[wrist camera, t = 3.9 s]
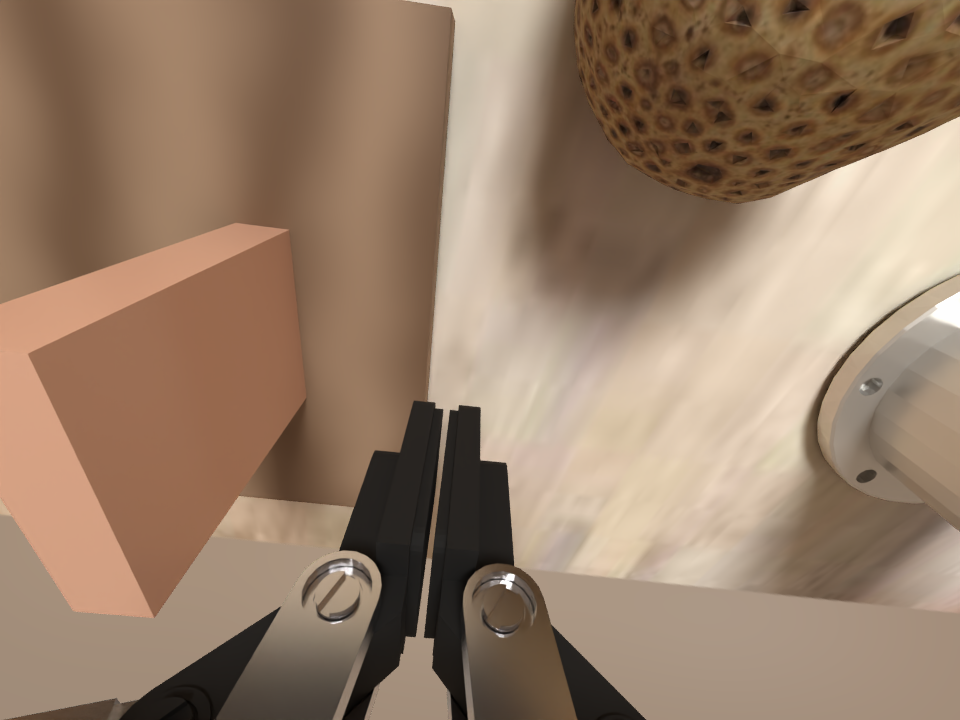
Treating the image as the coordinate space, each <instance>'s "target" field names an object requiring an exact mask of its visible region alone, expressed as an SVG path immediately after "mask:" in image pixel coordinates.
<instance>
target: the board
mask: <svg viewBox="0 0 960 720" xmlns="http://www.w3.org/2000/svg"><path fill="white" fill-rule="evenodd" d="M454 29H455V20H454V16H453V12H452V9H451V8H449V7H442V6H436V5H430V4H423V3H417V2H410V1H404V0H0V304H2V303H5V302H8V301H11V300H14V299H17V298H20V297H23V296H25V295H28V294H31V293H34V292H37V291H40V290H43V289H46V288H49V287H51V286H54V285H57V284H60V283H63V282H66V281H69V280H72V279H75V278H77V277H80V276H83V275H86V274H89V273H92V272H95V271H98V270H101V269H103V268H106V267H109V266H112V265H115V264H118V263H121V262H124V261H127V260H129V259H132V258H135V257H138V256H141V255H144V254H147V253H150V252H153V251H156V250H158V249H161V248H164V247H167V246H170V245H173V244H176V243H179V242H182V241H184V240H187V239H190V238H193V237H196V236H199V235H202V234H205V233H208V232H210V231H213V230H216V229H219V228H222V227H225V226H228V225H231V224H234V223H241V224H248V225H256V226H264V227H272V228H280V229H287V230H289V233H290V243H291V253H292V262H293V272H294V282H295V291H296V301H297V311H298V320H299V330H300V340H301V349H302V359H303V369H304V378H305V388H306V399H305V400H304V402H303V403H302V405H301V406H300V408H299V409H298V411H297V412H296V414H295V415H294V416H293V418H292V419H291V421H290V422H289V424H288V425H287V427H286V428H285V429H284V431H283V432H282V434H281V435H280V437H279V438H278V440H277V441H276V443H275V444H274V445H273V447H272V448H271V450H270V451H269V453H268V454H267V456H266V457H265V458H264V460H263V461H262V463H261V464H260V466H259V467H258V469H257V470H256V471H255V473H254V474H253V476H252V477H251V479H250V480H249V482H248V483H247V485H246V486H245V487H244V489H243V490H242V492H241V493H240V495H239V496H246V497H256V498H267V499H277V500H287V501H298V502H308V503H318V504H329V505H339V506H349V507H355V504H356V501H357V498H358V495H359V492H360V489H361V486H362V484H363V481H364V478H365V475H366V472H367V469H368V466H369V463H370V460H371V458H372V455H373V453H374V451H375V450H379V451H389V452H399V453H400V450H401V446H402V442H403V439H404V435H405V431H406V427H407V423H408V420H409V416H410V412H411V408H412V404H413V401H414V400H415V401H424V402H427V398H428V384H429V371H430V357H431V343H432V330H433V316H434V302H435V289H436V275H437V261H438V248H439V234H440V220H441V207H442V193H443V179H444V166H445V152H446V139H447V125H448V111H449V98H450V84H451V70H452V57H453V43H454Z"/></svg>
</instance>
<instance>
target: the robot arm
mask: <svg viewBox="0 0 960 720" xmlns="http://www.w3.org/2000/svg"><path fill="white" fill-rule="evenodd" d="M480 413H481V410H480V407H472V406H462V405H459V410H458V411H455V410H450V415H449V423H448V431H447V440H446V448H445V456H444V465H443V473H442V481H441V489H440V498H439V506H438V514H437V522H436V531H435V539H434V548H433V557H432V567H431V577H430V586H429V595H428V605H427V615H426V624H425V634H424V638H434V647H433V666H432V668H433V670H434V671H435V673H436V674H437V675H438V677H439V678H440V679H441V681H442V682H443V684H444V685H445V686H446V688H447V705H448V720H646V719H645V718H644V717H643V716H642V715H641V714H640V713H639V712H638V711H637V710H636V709H635V708H634V707H633V706H632V705H631V704H630V703H629V702H628V701H627V700H626V699H625V698H624V697H623V696H622V695H621V694H620V693H619V692H618V691H617V690H616V689H615V688H614V687H613V686H612V685H611V684H610V683H609V682H608V681H607V680H606V679H605V678H604V677H603V676H602V675H601V674H600V673H599V672H598V671H597V670H596V669H595V668H594V667H593V666H592V665H591V664H590V663H589V662H588V661H587V660H586V659H585V658H584V657H583V656H582V655H581V654H580V653H579V652H578V651H577V650H576V649H575V648H574V647H573V646H572V645H571V644H570V643H569V642H568V641H567V640H566V639H565V638H564V637H563V636H562V635H561V634H560V633H559V632H558V631H557V630H556V629H555V628H554V627H553V626H552V625H551V623H550V619H549V615H548V611H547V608H546V604H545V601H544V598H543V596H542V593H541V591H540V588H539V586H537V584H536V583H535V581H534V580H533V579H532V578H531V577H530V576H529V575H528V574H526V573H525V572H524V571H522V570H521V569H519V568H517V567H514V556H513V542H512V528H511V514H510V501H509V487H508V473H507V465H506V463H501V462H491V461H481V460H480ZM442 418H443V409H435V403H434V402H424V401H415V400H414V401H413V404H412V408H411V412H410V416H409V420H408V423H407V427H406V431H405V435H404V439H403V442H402V446H401V450H400V453H399V452H389V451H379V450H375V451H374V453H373V455H372V458H371V460H370V463H369V466H368V469H367V472H366V475H365V478H364V481H363V484H362V486H361V489H360V492H359V495H358V498H357V501H356V504H355V507H354V509H353V512H352V515H351V518H350V521H349V524H348V527H347V530H346V533H345V535H344V538H343V541H342V544H341V547H340V550H339V551H338V552H333V553H329V554H327V555H325V556H323V557H321V558H318V559H317V560H316V561H314V562H313V563H312V564H310V565H309V566H308V567H307V568H306V569H305V570H304V571H303V573H302V574H301V575H300V577H299V578H298V579H297V581H296V583H295V584H294V586H293V588H292V590H291V591H290V593H289V595H288V596H287V598H286V600H285V601H284V603H283V605H282V606H281V607H279V608H278V609H276V610H275V611H273V612H271V613H270V614H269V615H267V616H265V617H264V618H262V619H261V620H259V621H258V622H256V623H255V624H253V625H251V626H250V627H248V628H247V629H245V630H244V631H242V632H241V633H239V634H238V635H236V636H234V637H233V638H231V639H230V640H228V641H227V642H225V643H224V644H222V645H220V646H219V647H217V648H216V649H214V650H213V651H211V652H210V653H208V654H207V655H205V656H203V657H202V658H201V659H199V660H197V661H196V662H194V663H193V664H191V665H190V666H188V667H186V668H185V669H183V670H182V671H180V672H179V673H177V674H176V675H174V676H173V677H171V678H170V679H168V680H166V681H165V682H163V683H162V684H160V685H159V686H157V687H155V688H154V689H153V690H151V691H150V692H148V693H147V694H146V695H145V696H143V697H142V698H141V699H139V700H135V701H130V702H125V703H120V702H119V701H118V700H117V698H115V699H109V700H104V701H99V702H94V703H89V704H83V705H78V706H73V707H68V708H63V709H58V710H52V711H47V712H42V713H36V714H31V715H26V716H21V717H15V718H10V719H5V720H369V718H370V715H371V712H372V708H373V705H374V703H375V699H376V696H377V693H378V690H379V684H380V682H381V681H383V679H385V678H386V677H387V676H388V675H389V674H390V673H391V672H392V671H393V670H395V669H396V668H397V667H398V666H399V661H400V655H401V653H402V654H403V650H404V644H405V637H406V636H408V637H415V636H416V631H417V623H418V616H419V609H420V601H421V593H422V586H423V579H424V572H425V564H426V557H427V549H428V542H429V535H430V527H431V520H432V512H433V505H434V497H435V489H436V479H437V469H438V459H439V448H440V438H441V428H442ZM817 428H818V443H819V446H820V449H821V451H822V454H823V457H824V458H825V459H826V461H827V462H828V463H829V465H830V466H831V467H832V469H833V470H834V471H835V472H836V473H837V474H838V475H839V476H841V477H842V478H843V479H844V480H845V481H846V482H847V483H848V484H849V485H850V486H852V487H853V488H855V489H857V490H859V491H861V492H863V493H864V494H866V495H868V496H872V497H875V498H879V499H882V500H886V501H892V502H902V503H912V504H917V503H926V504H927V505H928V506H929V507H931V508H932V509H933V510H934V511H935V512H937V513H938V514H939V515H940V516H941V517H943V518H944V519H945V520H946V521H947V522H948V523H950V524H951V525H952V526H953V527H954V528H956V529H957V530H958V531H959V532H960V274H959V275H957V276H955V277H953V278H951V279H949V280H947V281H945V282H943V283H941V284H939V285H937V286H935V287H933V288H931V289H930V290H928V291H927V292H925V293H924V294H922V295H921V296H919V297H917V298H916V299H914V300H913V301H911V302H910V303H908V304H907V305H905V306H904V307H902V308H901V309H899V310H898V311H897V312H895V313H894V314H893V315H892V316H890V317H889V318H888V319H887V320H886V321H884V322H883V323H882V324H881V325H880V326H878V327H877V328H876V329H875V330H874V331H872V332H871V333H870V334H869V335H868V336H867V338H866V339H865V340H864V341H863V342H862V343H861V344H860V345H859V346H858V347H857V348H856V349H855V350H854V351H853V352H852V353H851V354H850V356H849V357H848V358H847V360H846V361H845V363H844V364H843V366H842V367H841V368H840V370H839V371H838V373H837V374H836V375H835V377H834V378H833V380H832V382H831V384H830V387H829V389H828V391H827V393H826V395H825V397H824V399H823V401H822V405H821V409H820V413H819V418H818V422H817Z"/></svg>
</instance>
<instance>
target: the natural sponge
mask: <svg viewBox="0 0 960 720" xmlns="http://www.w3.org/2000/svg"><path fill="white" fill-rule="evenodd" d="M574 38H575V50H576V60H577V65H578V70H579V76H580V79H581V82H582V85H583V88H584V91H585V94H586V97H587V100H588V102H589V105H590V107H591V109H592V111H593V113H594V115H595V116H596V118H597V120H598V122H599V124H600V126H601V127H602V129H603V131H604V133H605V135H606V137H607V139H608V141H609V142H610V143H611V144H612V145H613V146H614V147H615V148H616V150H617V151H618V152H619V153H620V155H621V156H622V157H623V159H624V160H625V161H626V163H628V164H629V165H631V166H633V167H634V168H636V169H637V170H639V171H641V172H642V173H644V174H646V175H647V176H649V177H651V178H653V179H655V180H656V181H658V182H660V183H662V184H664V185H666V186H669V187H671V188H673V189H675V190H678V191H681V192H684V193H687V194H691V195H695V196H698V197H702V198H706V199H711V200H718V201H724V202H731V203H736V204H739V203H744V202H750V201H755V200H760V199H766V198H771V197H773V196H775V195H778V194H780V193H782V192H784V191H787V190H789V189H791V188H794V187H796V186H798V185H801V184H803V183H805V182H808V181H810V180H813V179H815V178H817V177H819V176H822V175H824V174H826V173H828V172H831V171H833V170H835V169H838V168H841V167H843V166H846V165H849V164H851V163H854V162H856V161H859V160H861V159H864V158H866V157H869V156H871V155H874V154H876V153H879V152H881V151H884V150H886V149H889V148H891V147H894V146H896V145H898V144H901V143H903V142H905V141H908V140H910V139H912V138H915V137H917V136H919V135H922V134H924V133H926V132H928V131H930V130H932V129H934V128H936V127H938V126H940V125H942V124H944V123H946V122H949V121H951V120H953V119H955V118H957V117H959V116H960V0H576V1H575V16H574Z"/></svg>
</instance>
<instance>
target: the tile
mask: <svg viewBox="0 0 960 720" xmlns="http://www.w3.org/2000/svg"><path fill="white" fill-rule="evenodd" d="M305 399H306V388H305V378H304V369H303V359H302V349H301V340H300V330H299V320H298V311H297V301H296V291H295V282H294V272H293V262H292V253H291V243H290V233H289V230H287V229H280V228H272V227H264V226H256V225H248V224H241V223H234V224H231V225H228V226H225V227H222V228H219V229H216V230H213V231H210V232H208V233H205V234H202V235H199V236H196V237H193V238H190V239H187V240H184V241H182V242H179V243H176V244H173V245H170V246H167V247H164V248H161V249H158V250H156V251H153V252H150V253H147V254H144V255H141V256H138V257H135V258H132V259H129V260H127V261H124V262H121V263H118V264H115V265H112V266H109V267H106V268H103V269H101V270H98V271H95V272H92V273H89V274H86V275H83V276H80V277H77V278H75V279H72V280H69V281H66V282H63V283H60V284H57V285H54V286H51V287H49V288H46V289H43V290H40V291H37V292H34V293H31V294H28V295H25V296H23V297H20V298H17V299H14V300H11V301H8V302H5V303H2V304H0V498H1V499H2V501H3V503H4V504H5V506H6V507H7V509H8V510H9V512H10V513H11V515H12V517H13V518H14V520H15V521H16V523H17V524H18V526H19V527H20V529H21V530H22V532H23V533H24V535H25V537H26V538H27V540H28V541H29V543H30V544H31V546H32V547H33V549H34V551H35V552H36V554H37V555H38V557H39V558H40V560H41V562H42V563H43V565H44V566H45V568H46V569H47V571H48V572H49V574H50V575H51V577H52V579H53V580H54V582H55V583H56V585H57V586H58V588H59V589H60V591H61V592H62V594H63V596H64V597H65V599H66V600H67V602H68V603H69V605H70V607H71V608H72V610H73V611H76V612H87V613H100V614H112V615H124V616H136V617H148V618H155V616H156V615H157V613H158V612H159V611H160V609H161V608H162V606H163V605H164V603H165V602H166V601H167V599H168V598H169V596H170V595H171V593H172V592H173V590H174V589H175V587H176V586H177V584H178V583H179V582H180V580H181V579H182V577H183V576H184V574H185V573H186V572H187V570H188V569H189V567H190V565H191V564H192V563H193V561H194V560H195V558H196V557H197V556H198V554H199V553H200V551H201V550H202V548H203V547H204V545H205V544H206V543H207V541H208V540H209V538H210V537H211V535H212V534H213V532H214V531H215V529H216V528H217V527H218V525H219V524H220V522H221V521H222V519H223V518H224V516H225V515H226V514H227V512H228V511H229V509H230V508H231V506H232V505H233V503H234V502H235V500H236V499H237V498H238V496H239V495H240V493H241V492H242V490H243V489H244V487H245V486H246V485H247V483H248V482H249V480H250V479H251V477H252V476H253V474H254V473H255V471H256V470H257V469H258V467H259V466H260V464H261V463H262V461H263V460H264V458H265V457H266V456H267V454H268V453H269V451H270V450H271V448H272V447H273V445H274V444H275V443H276V441H277V440H278V438H279V437H280V435H281V434H282V432H283V431H284V429H285V428H286V427H287V425H288V424H289V422H290V421H291V419H292V418H293V416H294V415H295V414H296V412H297V411H298V409H299V408H300V406H301V405H302V403H303V402H304V400H305Z"/></svg>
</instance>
